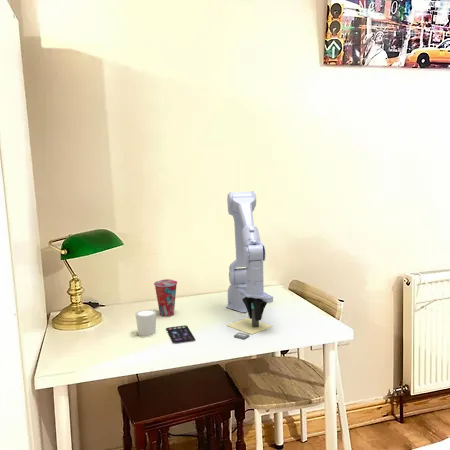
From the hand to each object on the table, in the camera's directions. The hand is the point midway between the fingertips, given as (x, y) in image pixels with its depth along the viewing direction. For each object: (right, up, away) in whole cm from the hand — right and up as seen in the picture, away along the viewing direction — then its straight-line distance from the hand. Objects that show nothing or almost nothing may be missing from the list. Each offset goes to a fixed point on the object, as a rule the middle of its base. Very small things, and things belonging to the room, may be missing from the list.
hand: (255, 319), depth 170 cm
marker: (0, -2, 0) cm, 2 cm away
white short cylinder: (-36, -4, -3) cm, 37 cm away
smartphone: (-25, -5, -5) cm, 26 cm away
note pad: (-2, -3, +1) cm, 4 cm away
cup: (-32, -1, +16) cm, 36 cm away
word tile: (-5, -4, -8) cm, 10 cm away
